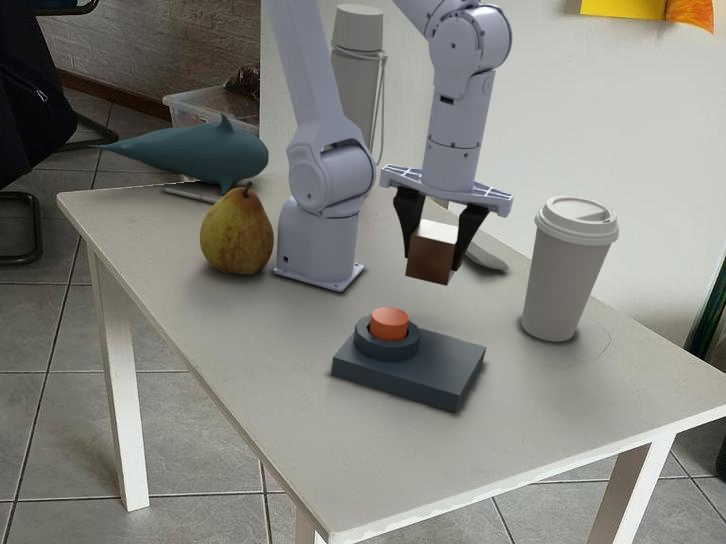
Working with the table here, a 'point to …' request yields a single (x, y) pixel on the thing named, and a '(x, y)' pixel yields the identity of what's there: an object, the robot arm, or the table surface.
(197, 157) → the toy
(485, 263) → the decorative stone
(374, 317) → the lid button
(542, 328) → the coffee cup
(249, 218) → the fruit
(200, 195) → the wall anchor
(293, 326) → the table surface
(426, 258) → the walnut block
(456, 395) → the grey base slab
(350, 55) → the water bottle
